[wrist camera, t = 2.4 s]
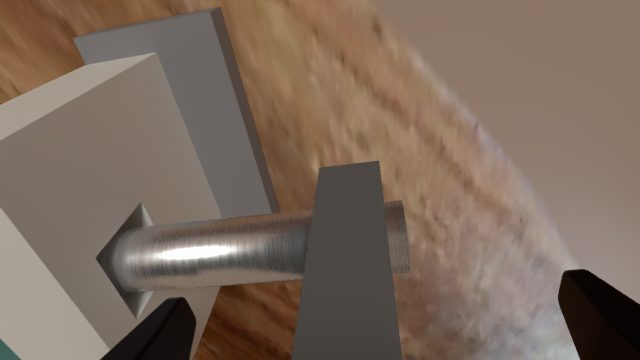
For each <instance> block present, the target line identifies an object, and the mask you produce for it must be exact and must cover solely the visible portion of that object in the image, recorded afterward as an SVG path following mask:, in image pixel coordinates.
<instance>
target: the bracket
mask: <svg viewBox="0 0 640 360" xmlns="http://www.w3.org/2000/svg"><path fill="white" fill-rule="evenodd" d="M73 40H74V42H75V44H76V46H77V48H78V50H79V52H80V54H81V56H82V58H83V60H84V62H85V64H86V65H85V66H83V67H81V68H79V69H77V70H74V71H72V72H70V73H68V74H66V75H64V76H61V77H59V78H57V79H55V80H53V81H51V82H48V83H46V84H44V85H42V86H40V87H38V88H35V89H33V90H31V91H29V92H27V93H25V94H22V95H20V96H18V97H16V98H14V99H12V100H10V101H7V102H5V103H3V104H1V105H0V339H1V340H2V341H3V342H4V343H5V344H6V345H7V346H8V347H9V348H10V349H11V350H12V351H13V352H14V353H15V354H16V355H17V356H18V357H19V358H20V359H21V360H100V359H101V358H102V357H103V356H104V355H105V354H106V353H108V352H109V351H110V350H111V349H112V348H113V347H114V346H115V345H116V344H117V343H118V342H120V341H121V340H122V339H123V338H124V337H125V336H126V335H127V334H128V333H129V332H131V331H132V330H133V329H134V328H135V327H136V326H137V325H138V324H139V323H140V322H142V321H143V320H144V319H145V318H146V317H147V316H148V315H149V314H150V313H151V312H153V311H154V310H155V309H156V308H157V307H158V306H159V305H160V304H161V303H162V302H164V301H165V300H166V299H167V298H170V297H184V298H185V299H186V300H187V302H188V304H189V305H190V307H191V309H192V311H193V313H194V315H195V317H196V329H195V334H194V339H193V344H192V349H191V354H190V359H189V360H193V357H194V355H195V352H196V349H197V347H198V344H199V342H200V339H201V336H202V334H203V331H204V329H205V326H206V323H207V321H208V318H209V316H210V313H211V310H212V308H213V305H214V303H215V300H216V297H217V295H218V292H219V290H220V287H221V286H213V287H200V288H186V289H172V290H158V291H144V292H130V293H118V291H117V290H116V288H115V287H114V285H113V284H112V282H111V281H110V279H109V278H108V276H107V275H106V273H105V272H104V270H103V269H102V267H101V266H100V264H99V263H98V261H97V260H96V256H97V255H98V254H99V253H100V252H101V250H102V249H103V248H104V247H105V245H106V244H107V243H108V242H109V240H110V239H111V238H112V237H113V236H114V234H115V233H116V232H117V231H118V229H124V228H134V227H143V226H153V225H163V224H173V223H183V222H193V221H202V220H212V219H222V218H232V217H242V216H251V215H261V214H271V213H280V210H279V206H278V203H277V200H276V196H275V193H274V189H273V186H272V183H271V179H270V176H269V172H268V169H267V166H266V162H265V159H264V155H263V152H262V149H261V145H260V142H259V138H258V135H257V131H256V128H255V125H254V121H253V118H252V114H251V111H250V108H249V104H248V101H247V97H246V94H245V91H244V87H243V84H242V80H241V77H240V74H239V70H238V67H237V63H236V60H235V56H234V53H233V50H232V46H231V43H230V39H229V36H228V33H227V29H226V26H225V22H224V19H223V16H222V12H221V9H220V7H217V8H212V9H207V10H201V11H196V12H191V13H186V14H181V15H176V16H171V17H166V18H161V19H156V20H150V21H145V22H140V23H135V24H130V25H125V26H120V27H115V28H110V29H105V30H100V31H94V32H90V33H87V34H84V35H82V36H79V37H76V38H73Z"/></svg>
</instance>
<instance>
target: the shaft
mask: <svg viewBox="0 0 640 360" xmlns="http://www.w3.org/2000/svg"><path fill="white" fill-rule="evenodd" d="M96 260H97V261H98V263H99V264H100V266H101V267H102V269H103V270H104V272H105V273H106V275H107V276H108V278H109V279H110V281H111V282H112V284H113V285H114V287H115V288H116V290H117V291H118V293H130V292H144V291H158V290H172V289H186V288H200V287H213V286H227V285H241V284H255V283H269V282H283V281H297V280H303V283H302V289H301V296H300V303H299V310H298V316H297V323H296V330H295V337H294V343H293V350H292V357H291V360H402V355H401V346H400V338H399V329H398V320H397V312H396V303H395V295H394V286H393V278H392V274H395V273H409V272H410V255H409V245H408V236H407V229H406V221H405V215H404V209H403V204H402V200H399V201H389V202H384V200H383V192H382V183H381V175H380V166H379V161H373V162H365V163H356V164H348V165H340V166H331V167H323V168H319V175H318V182H317V189H316V195H315V202H314V209H310V210H301V211H291V212H281V213H271V214H261V215H251V216H242V217H232V218H222V219H212V220H202V221H193V222H183V223H173V224H163V225H153V226H143V227H134V228H124V229H118V231H117V232H116V233H115V234H114V236H113V237H112V238H111V239H110V240H109V242H108V243H107V244H106V245H105V247H104V248H103V249H102V250H101V252H100V253H99V254H98V255H97V256H96Z"/></svg>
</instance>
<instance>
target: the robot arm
mask: <svg viewBox="0 0 640 360" xmlns="http://www.w3.org/2000/svg"><path fill="white" fill-rule="evenodd" d="M558 302H559V306H560V308H561V311H562V314H563V316H564V319H565V321H566V324H567V327H568V329H569V332H570V334H571V337H572V339H573V342H574V345H575V347H576V350H577V352H578V355H579V358H580V360H640V304H638V303H637V302H635V301H634V300H632V299H631V298H629V297H628V296H626V295H625V294H623V293H622V292H620V291H618V290H617V289H615V288H614V287H612V286H611V285H609V284H608V283H606V282H605V281H603V280H602V279H600V278H598V277H597V276H596V275H594V274H593V273H591V272H589V271H587V270H585V269H577V270H567V271H565V272H564V273H563V275H562V279H561V284H560V289H559V293H558ZM195 329H196V317H195V315H194V313H193V311H192V309H191V307H190V305H189V304H188V302H187V300H186V299H185V298H184V297H170V298H167V299H166V300H165V301H164V302H162V303H161V304H160V305H159V306H158V307H157V308H156V309H155V310H154V311H153V312H151V313H150V314H149V315H148V316H147V317H146V318H145V319H144V320H143V321H142V322H140V323H139V324H138V325H137V326H136V327H135V328H134V329H133V330H132V331H131V332H129V333H128V334H127V335H126V336H125V337H124V338H123V339H122V340H121V341H120V342H118V343H117V344H116V345H115V346H114V347H113V348H112V349H111V350H110V351H109V352H108V353H106V354H105V355H104V356H103V357H102V358H101V359H100V360H189V359H190V354H191V349H192V344H193V339H194V334H195Z"/></svg>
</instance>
